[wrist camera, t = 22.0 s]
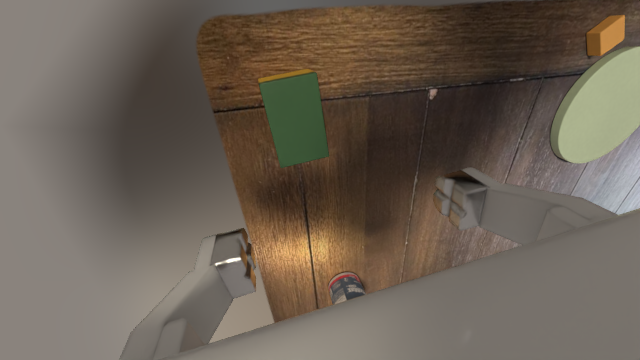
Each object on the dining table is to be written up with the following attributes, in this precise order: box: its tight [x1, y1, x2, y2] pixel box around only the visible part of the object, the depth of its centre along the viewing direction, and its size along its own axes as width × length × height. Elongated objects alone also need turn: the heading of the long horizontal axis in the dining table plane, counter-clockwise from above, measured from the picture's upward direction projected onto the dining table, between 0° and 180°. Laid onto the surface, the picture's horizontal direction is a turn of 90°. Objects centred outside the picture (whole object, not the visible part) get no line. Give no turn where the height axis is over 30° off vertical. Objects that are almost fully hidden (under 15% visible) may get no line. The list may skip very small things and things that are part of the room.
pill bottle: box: [328, 272, 366, 305], centre depth 37 cm, size 5×5×9 cm
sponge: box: [258, 69, 329, 168], centre depth 25 cm, size 8×5×4 cm, turn 9°
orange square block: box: [586, 15, 625, 56], centre depth 30 cm, size 3×3×2 cm
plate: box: [550, 46, 640, 163], centre depth 36 cm, size 16×16×1 cm
